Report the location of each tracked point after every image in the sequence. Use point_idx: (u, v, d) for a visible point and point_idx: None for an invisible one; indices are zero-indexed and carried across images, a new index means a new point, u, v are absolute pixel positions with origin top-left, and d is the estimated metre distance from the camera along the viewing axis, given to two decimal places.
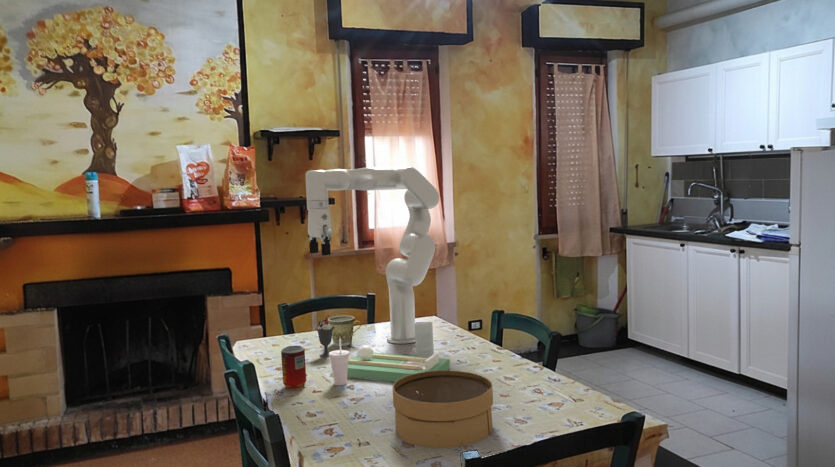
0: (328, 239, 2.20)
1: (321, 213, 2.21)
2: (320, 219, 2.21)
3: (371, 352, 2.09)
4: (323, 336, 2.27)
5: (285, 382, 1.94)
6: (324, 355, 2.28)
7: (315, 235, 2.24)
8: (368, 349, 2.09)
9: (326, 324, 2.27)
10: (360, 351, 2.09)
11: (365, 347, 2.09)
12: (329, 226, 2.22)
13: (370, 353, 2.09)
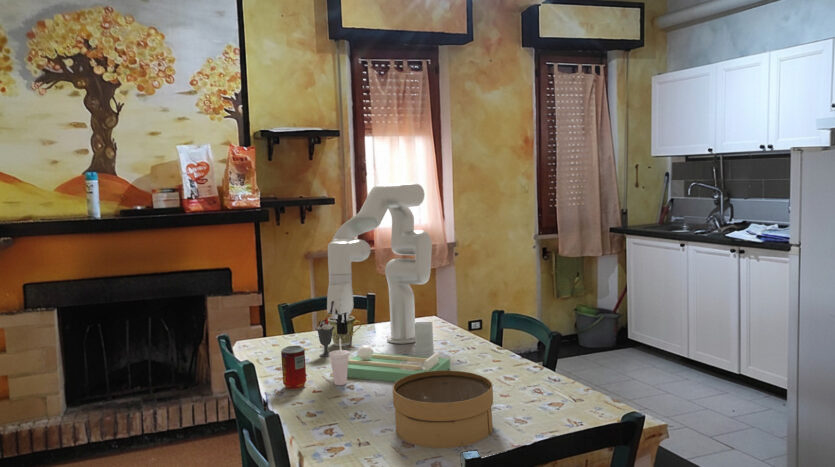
0: None
1: None
2: None
3: (371, 352, 2.09)
4: (323, 336, 2.27)
5: (285, 382, 1.94)
6: (324, 355, 2.28)
7: (349, 309, 2.13)
8: (368, 349, 2.09)
9: (326, 324, 2.27)
10: (360, 351, 2.09)
11: (365, 347, 2.09)
12: None
13: (370, 353, 2.09)
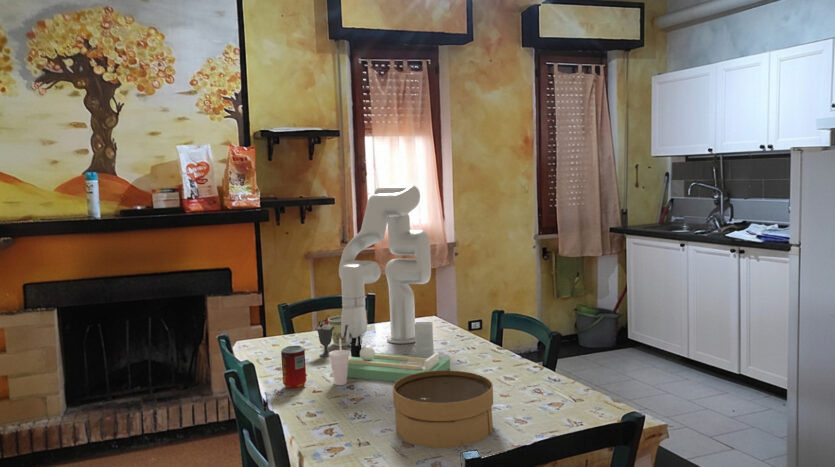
0: None
1: None
2: None
3: (373, 354, 2.09)
4: (323, 336, 2.27)
5: (285, 382, 1.94)
6: (324, 355, 2.28)
7: (363, 332, 2.12)
8: (371, 351, 2.09)
9: (326, 324, 2.27)
10: (362, 351, 2.08)
11: (368, 348, 2.09)
12: None
13: (372, 355, 2.09)
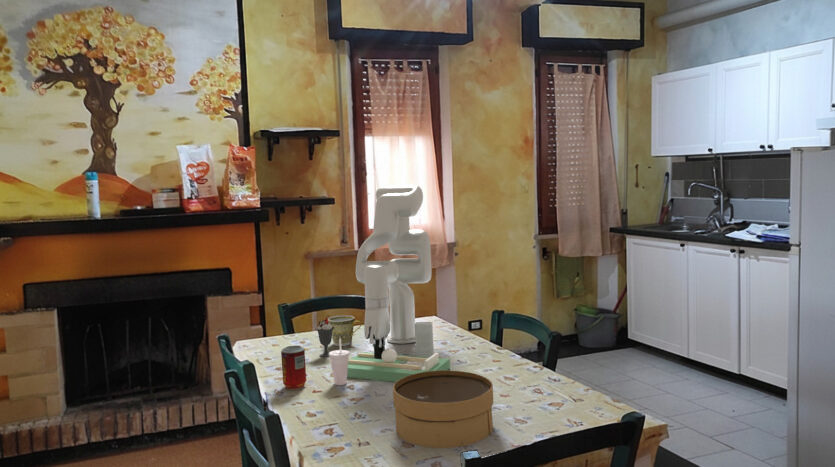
0: None
1: None
2: None
3: None
4: (323, 336, 2.27)
5: (285, 382, 1.94)
6: (324, 355, 2.28)
7: (386, 333, 2.09)
8: None
9: (326, 324, 2.27)
10: (384, 360, 2.04)
11: None
12: None
13: None
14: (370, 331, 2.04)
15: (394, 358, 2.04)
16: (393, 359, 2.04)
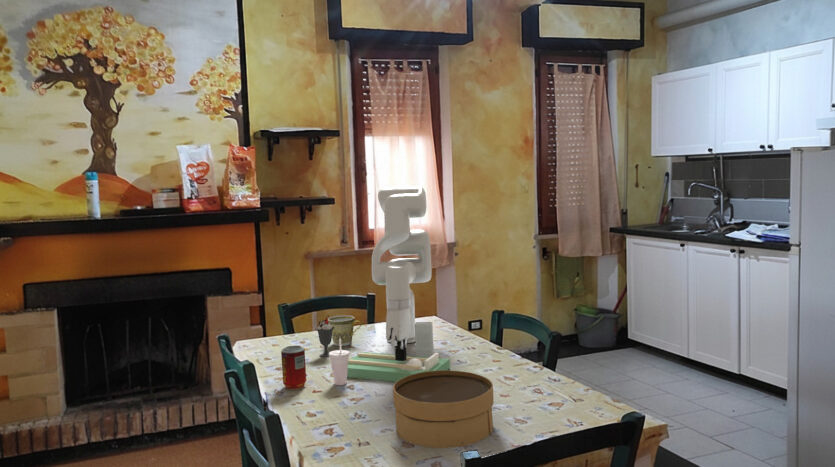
0: None
1: None
2: None
3: None
4: (323, 336, 2.27)
5: (285, 382, 1.94)
6: (324, 355, 2.28)
7: (407, 334, 2.06)
8: None
9: (326, 324, 2.27)
10: (417, 362, 2.02)
11: (421, 366, 2.03)
12: None
13: None
14: (392, 332, 2.01)
15: (410, 359, 2.05)
16: (411, 359, 2.04)
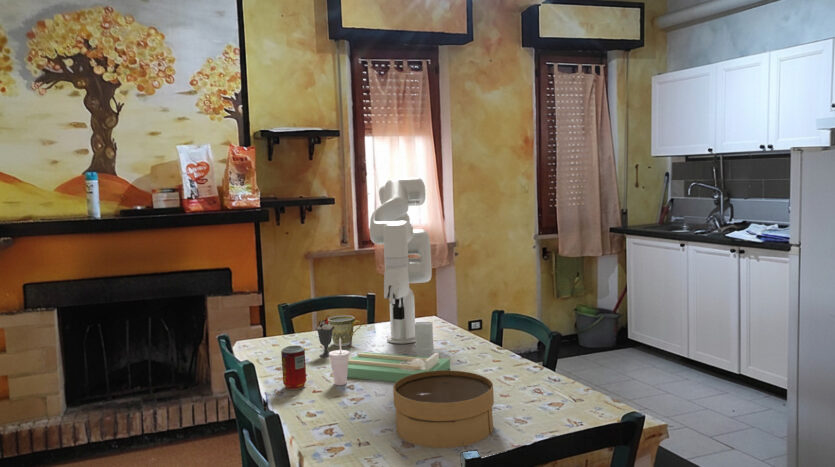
0: None
1: None
2: None
3: None
4: (323, 336, 2.27)
5: (285, 382, 1.94)
6: (324, 355, 2.28)
7: (405, 293, 2.05)
8: None
9: (326, 324, 2.27)
10: (422, 365, 2.02)
11: None
12: None
13: None
14: (390, 290, 2.01)
15: None
16: (417, 359, 2.03)
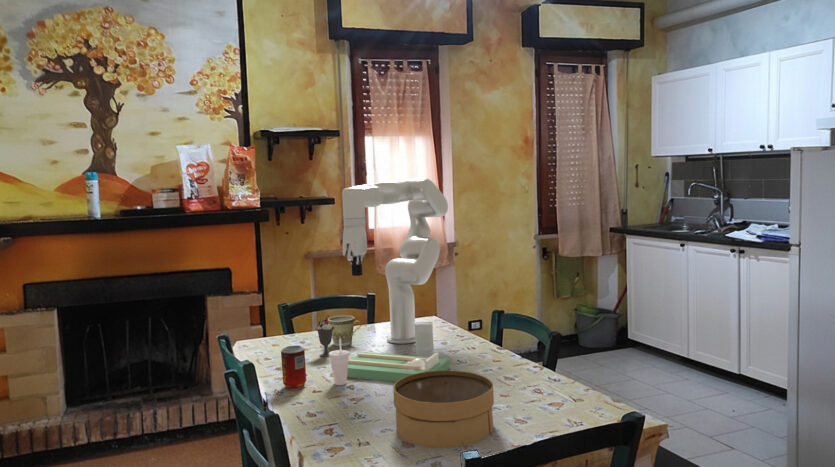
0: None
1: None
2: None
3: None
4: (323, 336, 2.27)
5: (285, 382, 1.93)
6: (324, 355, 2.28)
7: (363, 252, 2.24)
8: None
9: (326, 324, 2.27)
10: (422, 365, 2.02)
11: None
12: None
13: None
14: (348, 248, 2.19)
15: None
16: (417, 359, 2.03)
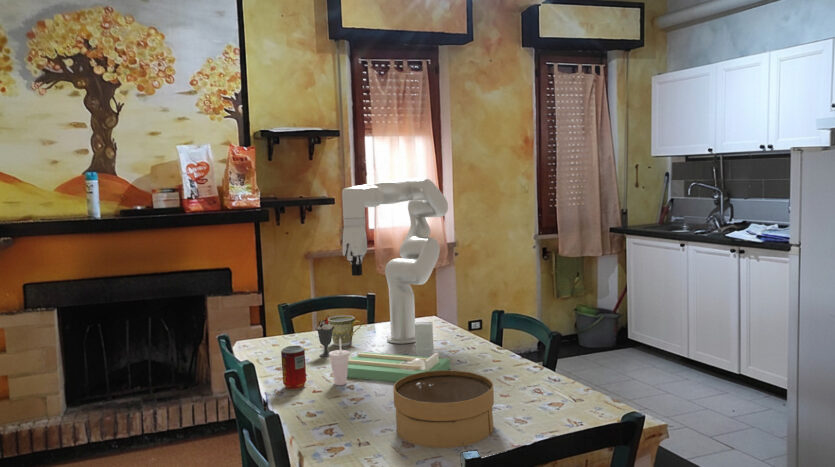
0: None
1: None
2: None
3: None
4: (323, 336, 2.27)
5: (285, 382, 1.93)
6: (324, 355, 2.28)
7: (363, 252, 2.24)
8: None
9: (326, 324, 2.27)
10: (422, 365, 2.02)
11: None
12: None
13: None
14: (348, 248, 2.19)
15: None
16: (417, 359, 2.03)
